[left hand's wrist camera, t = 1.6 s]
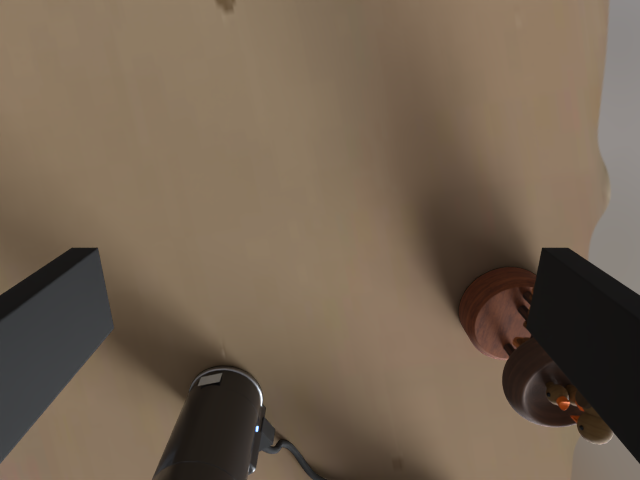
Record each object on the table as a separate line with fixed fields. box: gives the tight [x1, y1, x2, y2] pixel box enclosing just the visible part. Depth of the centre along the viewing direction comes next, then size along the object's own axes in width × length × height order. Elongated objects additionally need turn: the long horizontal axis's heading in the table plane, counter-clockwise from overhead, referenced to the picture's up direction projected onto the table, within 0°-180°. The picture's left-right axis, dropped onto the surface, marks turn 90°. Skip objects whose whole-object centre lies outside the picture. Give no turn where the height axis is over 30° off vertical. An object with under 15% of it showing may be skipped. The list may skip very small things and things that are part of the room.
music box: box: [459, 267, 613, 444], centre depth 41 cm, size 15×11×20 cm
